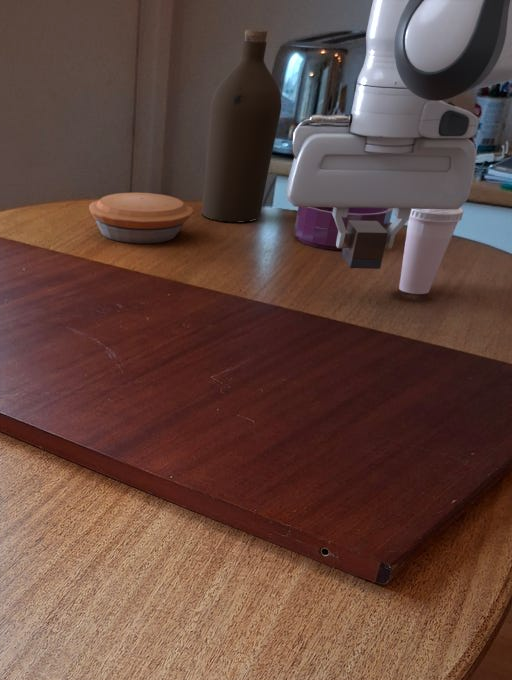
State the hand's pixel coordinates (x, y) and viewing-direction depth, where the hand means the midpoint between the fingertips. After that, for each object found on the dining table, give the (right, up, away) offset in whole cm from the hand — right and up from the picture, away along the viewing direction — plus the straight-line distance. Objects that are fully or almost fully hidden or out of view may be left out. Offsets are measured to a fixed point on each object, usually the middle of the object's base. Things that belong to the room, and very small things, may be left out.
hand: (363, 247), depth 106 cm
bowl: (+6, +13, +26) cm, 30 cm away
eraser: (0, -1, +1) cm, 2 cm away
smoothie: (+9, -2, +7) cm, 12 cm away
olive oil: (-8, +22, +37) cm, 44 cm away
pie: (-24, +14, +28) cm, 39 cm away
